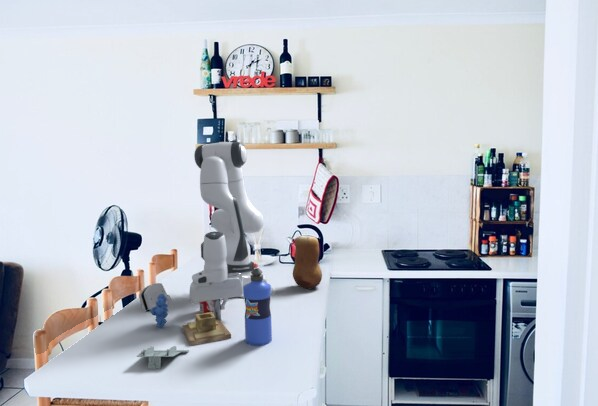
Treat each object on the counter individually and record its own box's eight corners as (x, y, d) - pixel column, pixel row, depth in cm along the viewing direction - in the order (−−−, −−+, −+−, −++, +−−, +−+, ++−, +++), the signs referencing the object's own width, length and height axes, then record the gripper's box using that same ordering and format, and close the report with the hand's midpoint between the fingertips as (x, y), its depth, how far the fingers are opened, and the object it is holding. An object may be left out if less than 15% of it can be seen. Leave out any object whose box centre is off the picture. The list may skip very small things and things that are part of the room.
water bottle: (261, 348, 152) (259, 273, 149) (239, 342, 157) (237, 270, 154) (277, 338, 160) (275, 267, 157) (256, 333, 165) (254, 264, 162)
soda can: (220, 310, 190) (219, 281, 188) (211, 315, 183) (210, 286, 182) (205, 308, 192) (204, 280, 191) (196, 314, 185) (195, 285, 184)
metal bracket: (178, 350, 138) (129, 350, 139) (178, 370, 137) (128, 371, 138) (190, 344, 153) (145, 344, 153) (189, 362, 152) (144, 363, 152)
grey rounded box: (154, 311, 189) (145, 289, 188) (144, 315, 190) (135, 292, 189) (171, 299, 205) (163, 278, 205) (162, 302, 206) (154, 281, 206)
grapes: (153, 321, 178) (151, 290, 177) (171, 320, 179) (170, 289, 178) (147, 332, 167) (145, 300, 166) (166, 331, 168) (164, 299, 166)
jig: (219, 323, 175) (219, 306, 174) (231, 338, 161) (230, 320, 160) (182, 329, 170) (181, 312, 169) (190, 345, 155) (189, 326, 154)
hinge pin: (220, 318, 180) (219, 296, 179) (221, 321, 177) (221, 298, 176) (213, 319, 179) (212, 297, 178) (215, 322, 176) (214, 299, 175)
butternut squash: (322, 283, 225) (322, 233, 222) (321, 292, 212) (320, 238, 209) (294, 283, 226) (293, 233, 224) (291, 291, 213) (290, 238, 210)
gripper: (239, 269, 183) (240, 303, 185) (187, 276, 175) (189, 311, 176) (244, 273, 177) (245, 308, 179) (190, 280, 169) (192, 316, 171)
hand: (217, 310), depth 177 cm, fingers closed on hinge pin, 3 cm apart
